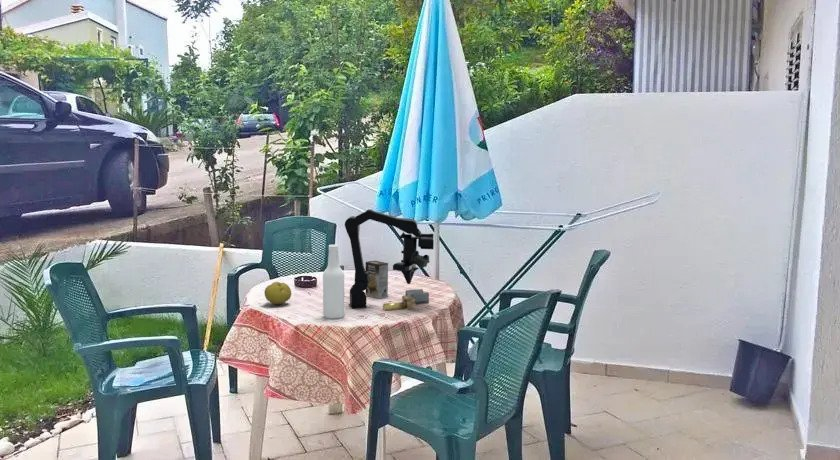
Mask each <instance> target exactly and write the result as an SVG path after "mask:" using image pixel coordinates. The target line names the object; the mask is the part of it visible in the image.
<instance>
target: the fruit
mask: <svg viewBox="0 0 840 460" xmlns="http://www.w3.org/2000/svg"><path fill="white" fill-rule="evenodd" d="M291 296H292V290H291V287H290V286H289V285H288V284H287V283H285V282H279V281H275V282H272V283H271V284H269V285H267V286H266V287H265V289H264V297H265V299H266V300H267V302H269V303H271V304H273V305H275V306H277V305H278V306H279V305H282V304H283V305H284V303H286V302H287V301H289V300H290V299H291Z"/></svg>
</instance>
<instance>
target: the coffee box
mask: <svg viewBox="0 0 840 460" xmlns="http://www.w3.org/2000/svg"><path fill="white" fill-rule="evenodd" d="M365 271H366V272H367V271H369V278H370V279H371V280H370V282H369V285H368V287H367V288H366V289H365V295H366V297H369V298H373V299H378V300H379V299H380V300H381V299H383V298H387V297H388V296H389V295H388V293H389V289H388V288H389V286H388V285H389V262H384V261H381V260H369V261H365Z"/></svg>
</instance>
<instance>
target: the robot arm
mask: <svg viewBox="0 0 840 460" xmlns="http://www.w3.org/2000/svg"><path fill="white" fill-rule="evenodd" d="M369 220H371V221H374V222H378V223H380V224H381V223H382V224H385V225H389V226H391V227H395V228H397V229H398V230H400V231H402V233H401V234H400V235H399V239H403V245H402V248H403V249H402V250H401V251H400V254H402V259H401V260H400V262H395V263H394V264H392V270H393V271H398V272H401V274H402V275H403V277H404V279H405V282H406V284H407V285H410V284H411V282H412V279H413V277H414V274H415V273H416V271H417V270H419V268H422V269H423V268H426V267H427V266H428V264H429V263H430V262H431V261H430V255H428V254H424V255H420V251H419V250H417V249H418V248H420V250H434V248H435V247H434V242H435V241H434V233H422V232H421V231H420V229H419V228H418V223H417V221H416V220H415V219H413V218H403V217H396V216H393V215H389V214H385V213H382V212H379V211H377V210H373V209H372V208H371V209H369V208H368V209H367V210H366V211H364V212H362V213H360V214H358V215H356V216H354V215H353V216H349V217H347V219H346V220H345V221H344V227H345V231H346V234H347V236H348V238H349V239H350V246H351V252H352V259H353V265H354V271H355V272H354V284H352V286H351V288H350V289H349V303H348V306H349V307H350V308H351V309H361V308H367V307H368V306H367V296H366V288H367V287H368V285H369V282H370V280H371V279H370V278H369V271H367V272H366V268H365V266H364V265H365V264H364V260H363V259H364V258H363V254H362V246H361V241H360V229H361V228H360V227H361V226H360V225H362V224H364V223H366V222H367V221H369ZM417 243H418V244H417ZM417 247H418V248H417Z"/></svg>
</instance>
